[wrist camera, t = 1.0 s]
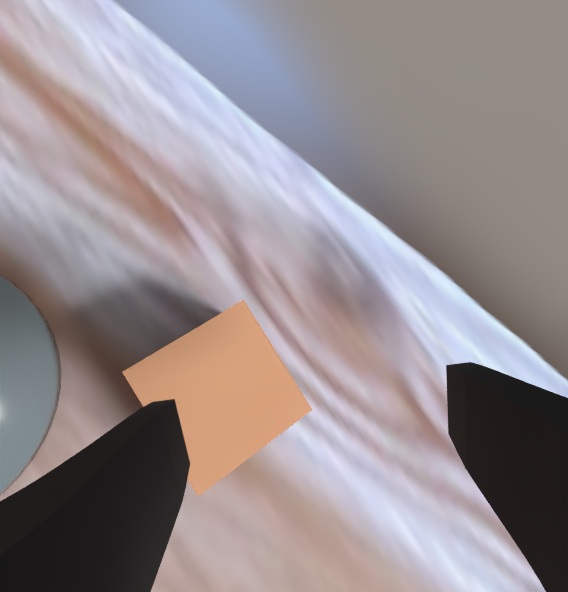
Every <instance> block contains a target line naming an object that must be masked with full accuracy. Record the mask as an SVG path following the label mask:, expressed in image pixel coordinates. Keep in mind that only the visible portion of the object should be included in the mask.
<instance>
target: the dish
mask: <svg viewBox="0 0 568 592" xmlns="http://www.w3.org/2000/svg"><path fill="white" fill-rule="evenodd" d="M60 388H61V366H60V358H59V352H58V348H57V344H56V341H55V337H54V335H53V333H52V331H51V328H50V326H49V324H48V322H47V320H46V319H45V317H44V316H43V314H42V312H41V311H40V309H39V308H38V307H37V306H36V305H35V303H34V302H33V301H32V300H31V299H30V298H29V296H28V295H26V294H25V293H24V292H23V291H22V290H21V289H19V288H18V287H17V286H16V285H15V284H13V283H12V282H10V281H9V280H7V279H6V278H4V277H3V276H1V275H0V495H1V494H2V493H4V492H5V491H6V490H7V489H8V488H9V486H10V485H11V484H12V483H13V482H14V481H15V480H16V479H17V478H18V477H19V476H20V475H21V474H22V472H23V471H24V470H25V469H26V467H27V466H28V465H29V464H30V462H31V461H32V460H33V458H34V457H35V455H36V453H37V452H38V450H39V448H40V447H41V445H42V444H43V442H44V440H45V438H46V436H47V433H48V431H49V429H50V427H51V425H52V422H53V419H54V415H55V412H56V409H57V406H58V400H59V394H60Z"/></svg>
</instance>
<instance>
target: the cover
mask: <svg viewBox="0 0 568 592" xmlns="http://www.w3.org/2000/svg"><path fill="white" fill-rule="evenodd" d="M122 373H123V374H124V376H125V378H126V379H127V381H128V382H129V384H130V386H131V387H132V389H133V391H134V392H135V394H136V396H137V397H138V399H139V401H140V402H141V404H142V405H143V407H144V406H146V405H147V404H149V403H151V402H154V401H163V400H171V399H175V403H176V407H177V411H178V415H179V419H180V423H181V427H182V431H183V436H184V440H185V444H186V448H187V452H188V456H189V460H190V468H189V473H188V478H187V479H188V481H189V483H190V484H191V486H192V487H193V489H194V491H195V492H196V494H197V496H199V495H201V494H202V493H203V492H205V491H206V490H207V489H209V488H210V487H211V486H213V485H214V484H215V483H216V482H218V481H219V480H220V479H222V478H223V477H224V476H226V475H227V474H228V473H230V472H231V471H232V470H234V469H235V468H236V467H238V466H239V465H240V464H242V463H243V462H244V461H245V460H247V459H248V458H249V457H251V456H252V455H253V454H255V453H256V452H257V451H259V450H260V449H261V448H263V447H264V446H265V445H267V444H268V443H269V442H271V441H272V440H273V439H274V438H276V437H277V436H278V435H280V434H281V433H282V432H284V431H285V430H286V429H288V428H289V427H290V426H292V425H293V424H294V423H296V422H297V421H298V420H300V419H301V418H302V417H304V416H305V415H306V414H307V413H309V412H310V411H311V410H312V408H311V407H310V405H309V403H308V402H307V400H306V399H305V397H304V395H303V394H302V392H301V391H300V389H299V387H298V386H297V384H296V383H295V381H294V379H293V378H292V376H291V375H290V373H289V371H288V370H287V368H286V367H285V365H284V363H283V362H282V360H281V359H280V357H279V356H278V354H277V352H276V351H275V349H274V348H273V346H272V344H271V343H270V341H269V340H268V338H267V336H266V335H265V333H264V332H263V330H262V328H261V327H260V325H259V324H258V322H257V320H256V319H255V317H254V316H253V314H252V312H251V311H250V309H249V308H248V306H247V304H246V303H245V301H244V300H242V301H241V302H239V303H237V304H236V305H234V306H232V307H231V308H229V309H227V310H226V311H224V312H222V313H220V314H219V315H217V316H215V317H214V318H212V319H210V320H209V321H207V322H205V323H204V324H202V325H200V326H199V327H197V328H195V329H194V330H192V331H190V332H189V333H187V334H185V335H183V336H182V337H180V338H178V339H177V340H175V341H173V342H172V343H170V344H168V345H167V346H165V347H163V348H162V349H160V350H158V351H157V352H155V353H153V354H152V355H150V356H148V357H146V358H145V359H143V360H141V361H140V362H138V363H136V364H135V365H133V366H131V367H130V368H128V369H126V370H125V371H123V372H122Z"/></svg>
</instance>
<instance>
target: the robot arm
mask: <svg viewBox="0 0 568 592" xmlns="http://www.w3.org/2000/svg"><path fill="white" fill-rule="evenodd" d="M446 369H447V400H448V430H449V436H450V438H451V440H452V442H453V444H454V446H455V448H456V450H457V452H458V454H459V456H460V458H461V460H462V462H463V464H464V466H465V468H466V470H467V471H468V473H469V474H470V476H471V477H472V479H473V480H474V482H475V483H476V485H477V486H478V488H479V489H480V491H481V492H482V494H483V495H484V497H485V498H486V500H487V501H488V503H489V504H490V506H491V507H492V509H493V510H494V512H495V513H496V515H497V516H498V518H499V519H500V521H501V522H502V523H503V525H504V526H505V528H506V529H507V531H508V532H509V534H510V535H511V537H512V538H513V540H514V541H515V543H516V544H517V546H518V547H519V549H520V550H521V552H522V553H523V555H524V556H525V558H526V559H527V561H528V562H529V564H530V566H531V567H532V569H533V570H534V572H535V574H536V575H537V577H538V578H539V580H540V582H541V584H542V585H543V587H544V589H545V591H546V592H568V398H566V397H564V396H561V395H558V394H555V393H553V392H550V391H547V390H545V389H542V388H539V387H537V386H534V385H532V384H529V383H526V382H524V381H521V380H519V379H516V378H514V377H511V376H509V375H506V374H503V373H501V372H498V371H496V370H493V369H490V368H487V367H485V366H482V365H478V364H475V363H471V362H469V363H461V364H453V365H446ZM189 468H190V460H189V456H188V452H187V448H186V444H185V440H184V436H183V431H182V427H181V423H180V419H179V415H178V411H177V407H176V403H175V399H171V400H163V401H154V402H151V403H149V404H147V405H146V406H144V407H143V408H141V409H139V410H138V411H136V412H135V413H134V414H132V415H131V416H129V417H128V418H126V419H125V420H124V421H122V422H121V423H119V424H118V425H117V426H115V427H114V428H113V429H111V430H110V431H108V432H107V433H106V434H104V435H103V436H101V437H100V438H99V439H97V440H96V441H94V442H93V443H92V444H90V445H89V446H87V447H86V448H84V449H83V450H81V451H80V452H78V453H77V454H75V455H74V456H73V457H71V458H70V459H68V460H67V461H65V462H64V463H62V464H61V465H59V466H58V467H56V468H55V469H53V470H52V471H50V472H49V473H47V474H46V475H44V476H42V477H41V478H39V479H38V480H36V481H34V482H33V483H31V484H29V485H28V486H26V487H25V488H23V489H21V490H19V491H18V492H16V493H14V494H12V495H11V496H9V497H7V498H6V499H4V500H2V501H0V592H151V589H152V586H153V583H154V580H155V578H156V575H157V572H158V569H159V566H160V564H161V561H162V558H163V555H164V552H165V550H166V547H167V544H168V541H169V538H170V536H171V533H172V530H173V527H174V524H175V521H176V518H177V516H178V513H179V510H180V507H181V504H182V501H183V496H184V492H185V488H186V483H187V478H188V473H189Z"/></svg>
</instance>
